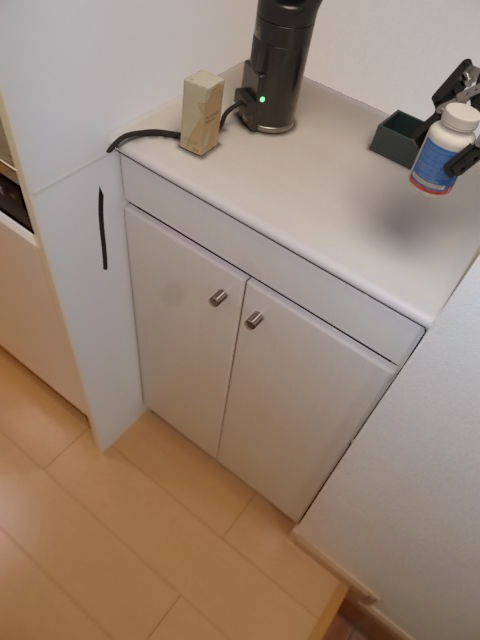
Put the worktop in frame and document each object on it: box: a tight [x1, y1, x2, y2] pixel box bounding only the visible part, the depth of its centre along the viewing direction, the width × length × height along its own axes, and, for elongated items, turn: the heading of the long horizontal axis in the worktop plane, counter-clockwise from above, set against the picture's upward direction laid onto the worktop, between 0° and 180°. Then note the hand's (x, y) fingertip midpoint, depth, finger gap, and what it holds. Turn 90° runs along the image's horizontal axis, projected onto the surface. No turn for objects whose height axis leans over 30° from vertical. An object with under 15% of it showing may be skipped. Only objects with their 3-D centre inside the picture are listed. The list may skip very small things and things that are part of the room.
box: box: [179, 69, 226, 156], centre depth 82 cm, size 5×4×11 cm
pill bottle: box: [407, 103, 480, 199], centre depth 61 cm, size 6×5×10 cm
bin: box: [369, 109, 426, 169], centre depth 91 cm, size 8×8×5 cm
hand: (430, 157), depth 61 cm, fingers closed on pill bottle, 5 cm apart
